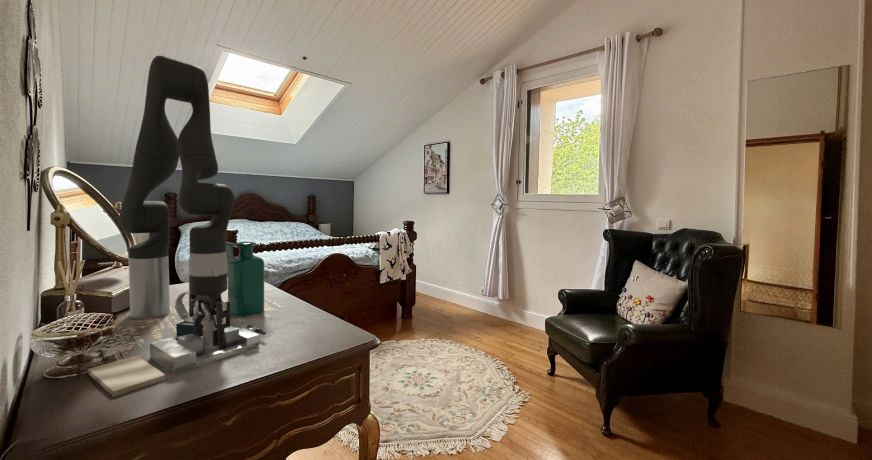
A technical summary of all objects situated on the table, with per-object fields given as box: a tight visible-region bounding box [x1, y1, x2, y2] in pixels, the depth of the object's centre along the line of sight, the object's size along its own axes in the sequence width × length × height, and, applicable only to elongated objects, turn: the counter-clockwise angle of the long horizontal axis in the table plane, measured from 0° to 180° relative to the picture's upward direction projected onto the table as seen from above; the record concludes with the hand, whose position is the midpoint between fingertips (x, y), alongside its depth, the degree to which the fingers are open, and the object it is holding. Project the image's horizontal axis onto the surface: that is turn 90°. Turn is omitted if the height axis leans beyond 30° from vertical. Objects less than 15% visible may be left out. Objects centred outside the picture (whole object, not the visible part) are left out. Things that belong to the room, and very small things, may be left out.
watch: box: [174, 290, 195, 337], centre depth 97 cm, size 6×8×11 cm
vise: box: [149, 323, 267, 375], centre depth 87 cm, size 12×21×4 cm, turn 147°
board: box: [87, 355, 166, 398], centre depth 74 cm, size 14×8×1 cm, turn 57°
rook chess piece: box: [201, 317, 221, 355], centre depth 86 cm, size 4×4×8 cm
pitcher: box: [226, 241, 265, 318], centre depth 114 cm, size 10×8×22 cm
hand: (209, 340), depth 86 cm, fingers open, 8 cm apart
